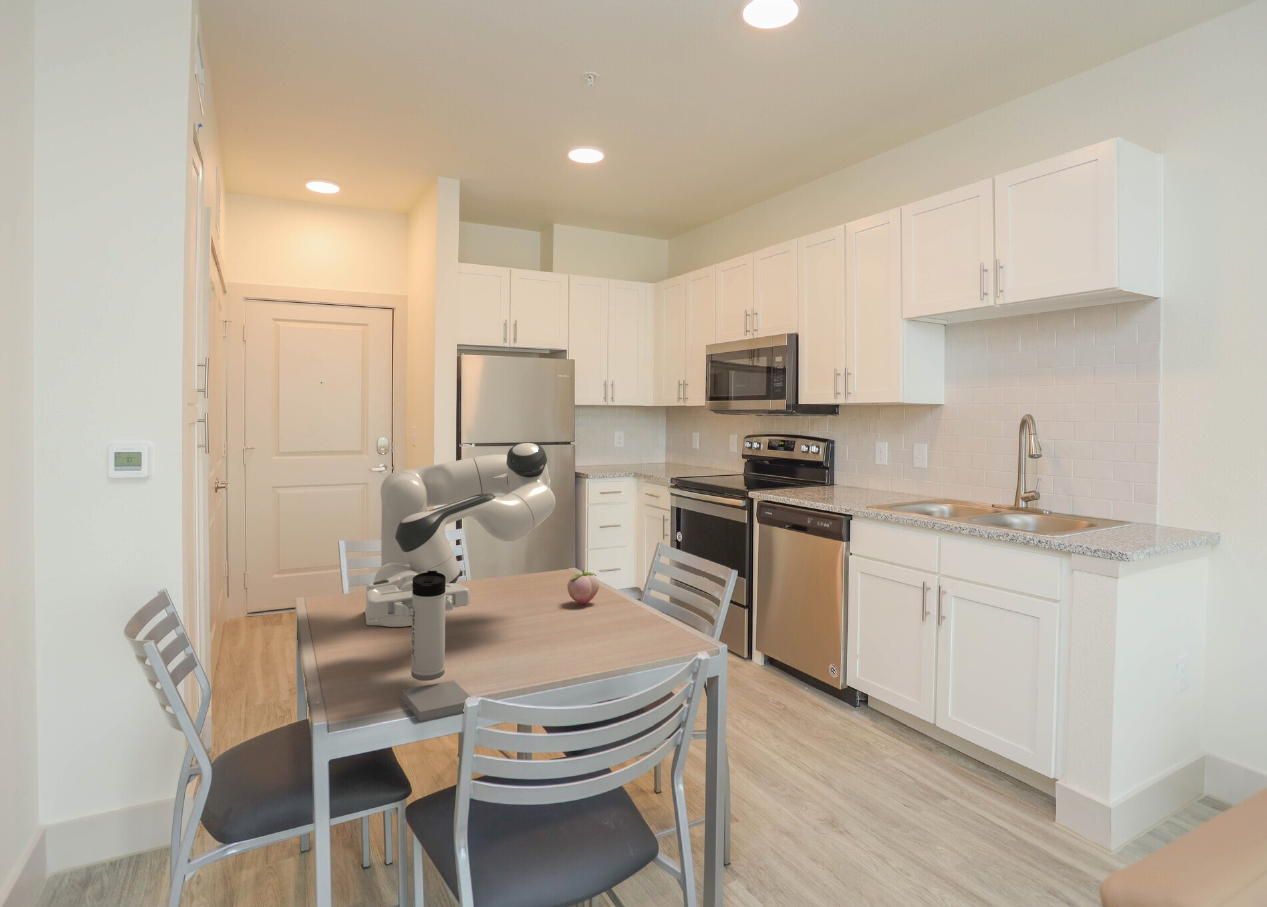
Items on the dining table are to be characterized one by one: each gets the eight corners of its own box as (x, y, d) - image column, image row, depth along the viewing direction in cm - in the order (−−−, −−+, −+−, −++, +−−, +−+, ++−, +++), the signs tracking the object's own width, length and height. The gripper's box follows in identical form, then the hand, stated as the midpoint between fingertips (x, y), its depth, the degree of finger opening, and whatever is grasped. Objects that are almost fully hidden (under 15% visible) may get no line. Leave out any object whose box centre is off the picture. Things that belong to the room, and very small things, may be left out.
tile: (401, 689, 137) (420, 711, 127) (453, 680, 142) (474, 700, 132) (401, 701, 137) (420, 724, 127) (453, 691, 142) (474, 712, 132)
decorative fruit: (582, 598, 214) (583, 565, 213) (603, 603, 209) (603, 569, 208) (560, 605, 207) (560, 570, 206) (581, 610, 201) (581, 574, 201)
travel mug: (447, 667, 145) (448, 570, 143) (441, 681, 138) (442, 580, 136) (415, 666, 144) (416, 569, 142) (407, 680, 138) (409, 579, 135)
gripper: (457, 601, 156) (481, 617, 145) (359, 615, 145) (376, 633, 134) (457, 573, 156) (481, 586, 145) (358, 584, 145) (375, 600, 133)
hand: (429, 609), depth 139 cm, fingers closed on travel mug, 6 cm apart
